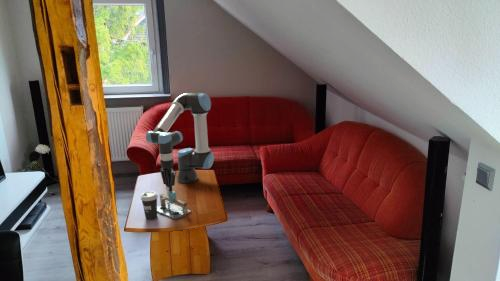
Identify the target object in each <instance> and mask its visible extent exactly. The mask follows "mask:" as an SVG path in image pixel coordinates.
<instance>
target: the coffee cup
mask: <svg viewBox="0 0 500 281" xmlns="http://www.w3.org/2000/svg"><path fill="white" fill-rule="evenodd" d="M140 200H141V202H142V205H143V206H142V207H143V211H144V216H145V219H146V220H147V221H154V220H156V219H157V218H158V212H157V206H158V194H157V192H155V191H153V190H152V191H151V190H150V191H145V192H143V193H142V194H141V196H140Z"/></svg>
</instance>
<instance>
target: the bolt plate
mask: <svg viewBox="0 0 500 281" xmlns="http://www.w3.org/2000/svg"><path fill="white" fill-rule="evenodd" d="M167 202H168V201H165V204H164V208H162V205H161V204H159V205H157V214H160V215H162V216H165V217H168V218H170V219H172V220H175V221H177V220H180V219H181V218H183V217H185V216H187V215H190V214H191V213H192V210H190V209H188V208H187V210H188V213H186V214H183V209H182V206H181V205H178V204H176V203H173V204H171V203H170V211H169V210H168V204H167Z"/></svg>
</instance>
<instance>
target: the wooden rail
mask: <svg viewBox="0 0 500 281" xmlns="http://www.w3.org/2000/svg"><path fill="white" fill-rule="evenodd" d="M159 198H160V199H159V200H160V205H162V208H164V204H165V202H166V201H167V202H168V201H169V197H168V196H167V195H166V194H165V193H161V194H159ZM173 204H175V205H177V206H180V207H182V209H183V214H186V213H188V210H189V209H188V202H187V201H182V200H180V199H177V198H175V199H173ZM187 209H188V210H187Z"/></svg>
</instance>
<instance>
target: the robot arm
mask: <svg viewBox="0 0 500 281" xmlns="http://www.w3.org/2000/svg"><path fill="white" fill-rule="evenodd" d="M211 106H212V101H211V98H210V96H209V95H208V93H204V92H203V93H202V92H184V93H182V94H180V95H179V96H177V97H176V98H174V99H173V101H171V103H170V107H169V108H168V110H167V111H166V112H165V114H164V116H162V118H161V120H160V121H159V122H158V124H156V126H155V128H154V129H153V130H148V131H147V132H146V134H145V140H146V142H147V143H149V144H153V145H154V144H158V149H159V159H160V160H159V161H160V167H161V168H159V171H160V175H161V179H162V183H163V185H165V187H166V188H165V189H166V194H167V196H168V197H169V192H171V191H173V186H175V184H176V181H177V183H180V184H191V183H194V182H196V181H198V179H199V176H198V174H197V171H196V169H195V168H197V169H206V170H207V169H210V168H211V167H212V166H213V164H214V160H215V154H214V153H213V151H212V152H211V148H209V138H208V123H207V115H208V113H209V111H210V110H211ZM186 110H189V111H190V113H191V115H192V116H193V121H194V122H193V123H194V137H195V138H194V140H195V149H194V148H191V147H188V148H183V149H180V150H178V151H177V164H178V165H177V166H178V171H174V167H173V166H174V163H175V162H174V153H173V147H175V146H177V145H178V144H180V143H182V141H183V139H184V137H183V134H182V132H181V131H177V130H175V131H172V132H168V131H169V130H170V128H172V125H173V124H174V123H175V122H176V120H177V119H178V118H179V116H180V114H182V113H184V111H186ZM177 172H178V173H177Z"/></svg>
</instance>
